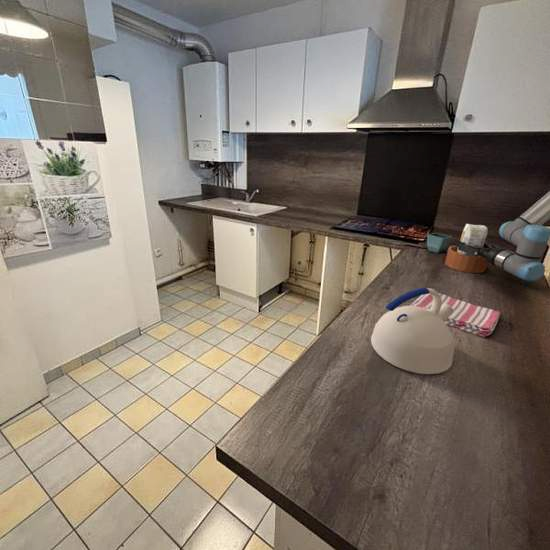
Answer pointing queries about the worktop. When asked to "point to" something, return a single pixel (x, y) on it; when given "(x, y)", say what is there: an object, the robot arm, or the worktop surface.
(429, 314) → the kettle
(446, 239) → the flower pot
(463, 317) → the dish towel
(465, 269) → the pot
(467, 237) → the juice carton
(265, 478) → the worktop surface
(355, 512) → the worktop surface
